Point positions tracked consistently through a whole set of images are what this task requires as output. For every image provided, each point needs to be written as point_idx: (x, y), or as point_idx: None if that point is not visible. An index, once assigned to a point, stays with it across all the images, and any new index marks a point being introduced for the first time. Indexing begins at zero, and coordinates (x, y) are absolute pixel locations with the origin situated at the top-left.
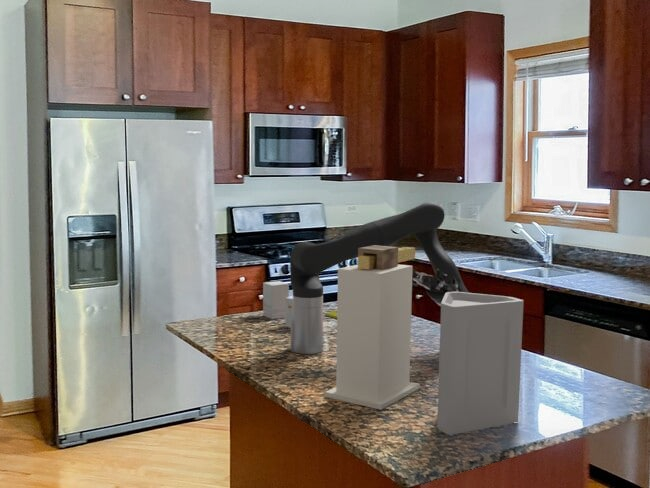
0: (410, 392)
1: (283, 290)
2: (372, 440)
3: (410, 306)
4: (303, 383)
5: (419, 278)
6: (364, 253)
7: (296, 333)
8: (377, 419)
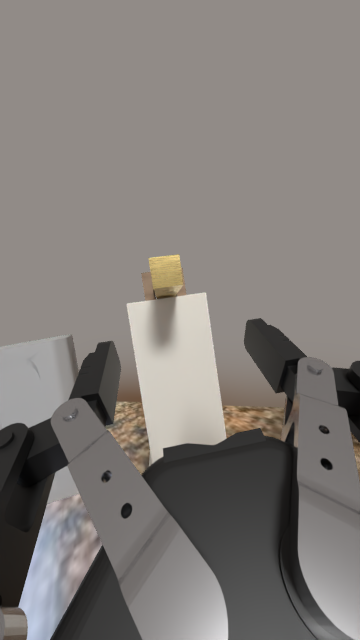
0: None
1: None
2: (131, 408)
3: (138, 371)
4: (266, 429)
5: (287, 423)
6: None
7: None
8: (144, 425)
